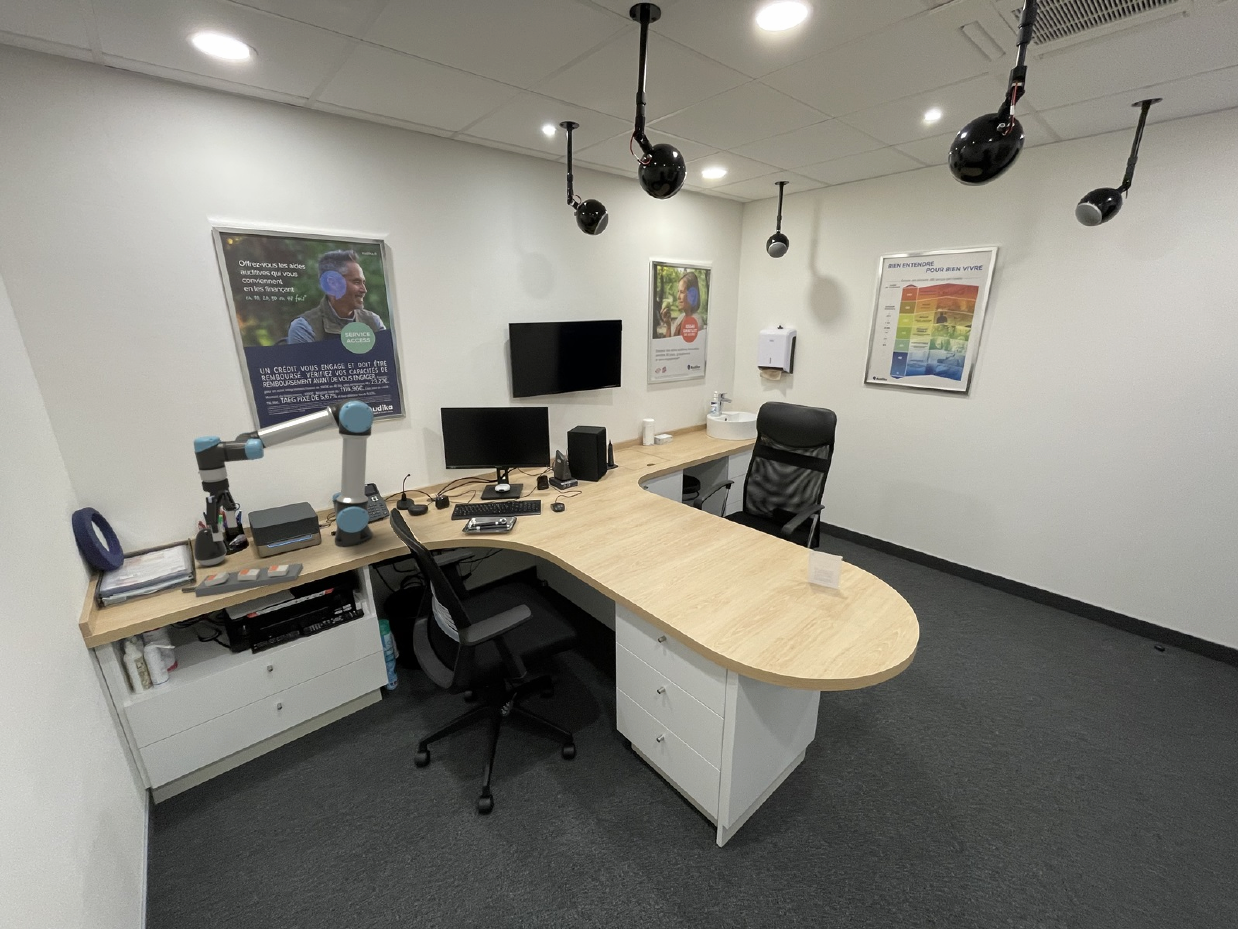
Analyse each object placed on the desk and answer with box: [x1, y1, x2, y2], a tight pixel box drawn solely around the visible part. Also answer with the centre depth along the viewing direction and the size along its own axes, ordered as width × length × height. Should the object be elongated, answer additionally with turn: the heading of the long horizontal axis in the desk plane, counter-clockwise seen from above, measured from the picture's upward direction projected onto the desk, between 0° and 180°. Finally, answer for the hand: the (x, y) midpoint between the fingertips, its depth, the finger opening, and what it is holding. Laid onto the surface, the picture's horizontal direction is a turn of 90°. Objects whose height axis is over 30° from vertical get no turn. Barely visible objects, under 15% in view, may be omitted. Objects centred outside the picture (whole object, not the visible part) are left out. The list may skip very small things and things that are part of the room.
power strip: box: [181, 562, 304, 598], centre depth 184 cm, size 37×11×3 cm, turn 110°
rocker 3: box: [268, 564, 290, 576], centre depth 185 cm, size 6×5×2 cm
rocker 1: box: [205, 571, 229, 587], centre depth 179 cm, size 6×5×2 cm
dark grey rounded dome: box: [193, 527, 228, 567], centre depth 199 cm, size 10×10×15 cm
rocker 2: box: [238, 568, 261, 580], centre depth 182 cm, size 6×5×2 cm
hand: (225, 533), depth 183 cm, fingers open, 13 cm apart
